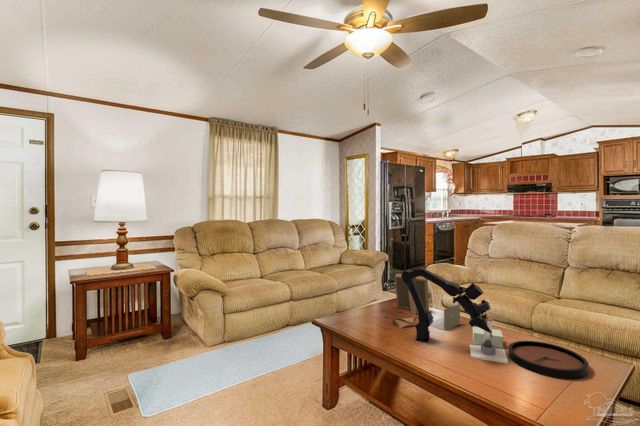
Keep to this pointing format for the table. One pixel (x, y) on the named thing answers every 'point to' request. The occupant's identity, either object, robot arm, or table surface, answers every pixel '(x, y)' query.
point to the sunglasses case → (406, 322)
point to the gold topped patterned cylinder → (486, 334)
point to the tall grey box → (405, 296)
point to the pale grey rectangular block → (448, 318)
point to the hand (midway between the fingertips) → (491, 331)
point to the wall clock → (548, 359)
